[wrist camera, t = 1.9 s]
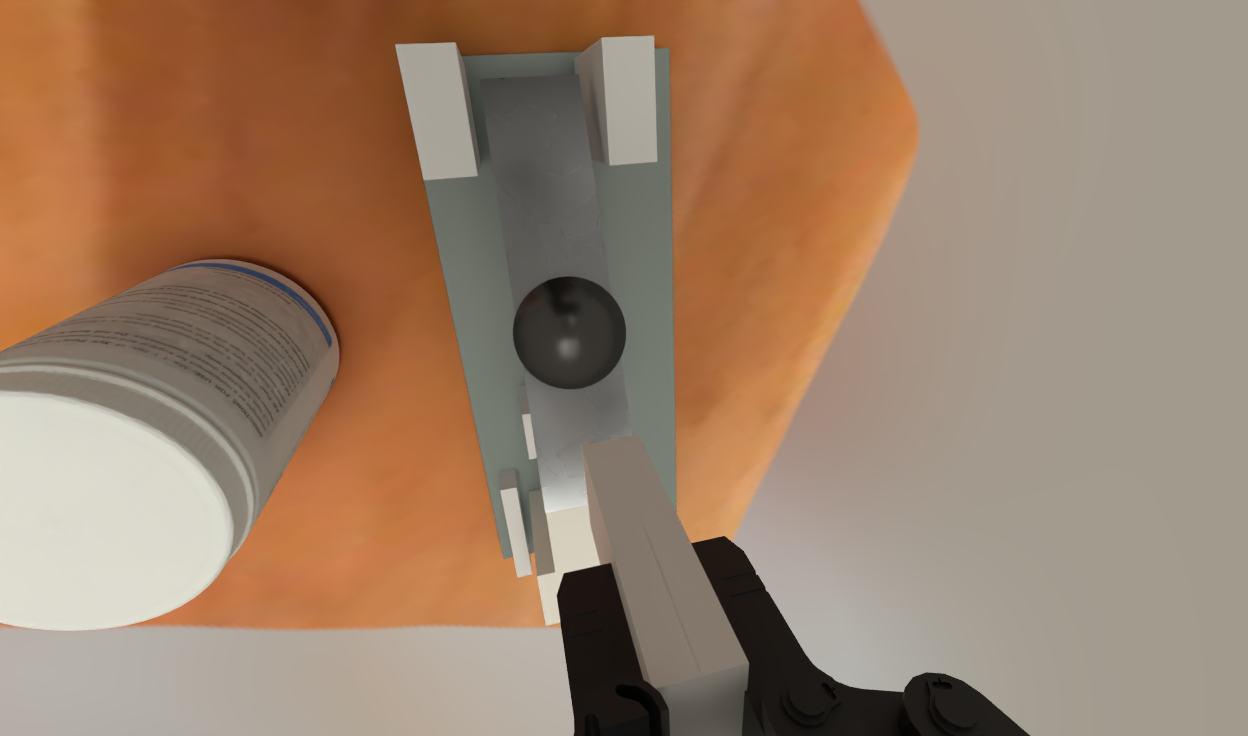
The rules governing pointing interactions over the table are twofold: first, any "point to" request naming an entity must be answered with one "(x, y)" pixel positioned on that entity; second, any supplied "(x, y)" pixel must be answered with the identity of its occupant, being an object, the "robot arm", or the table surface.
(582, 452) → the robot arm
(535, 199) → the grey long flat bar
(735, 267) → the table surface
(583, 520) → the block
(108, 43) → the table surface
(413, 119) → the mount
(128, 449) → the supplement tub
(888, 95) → the table surface
